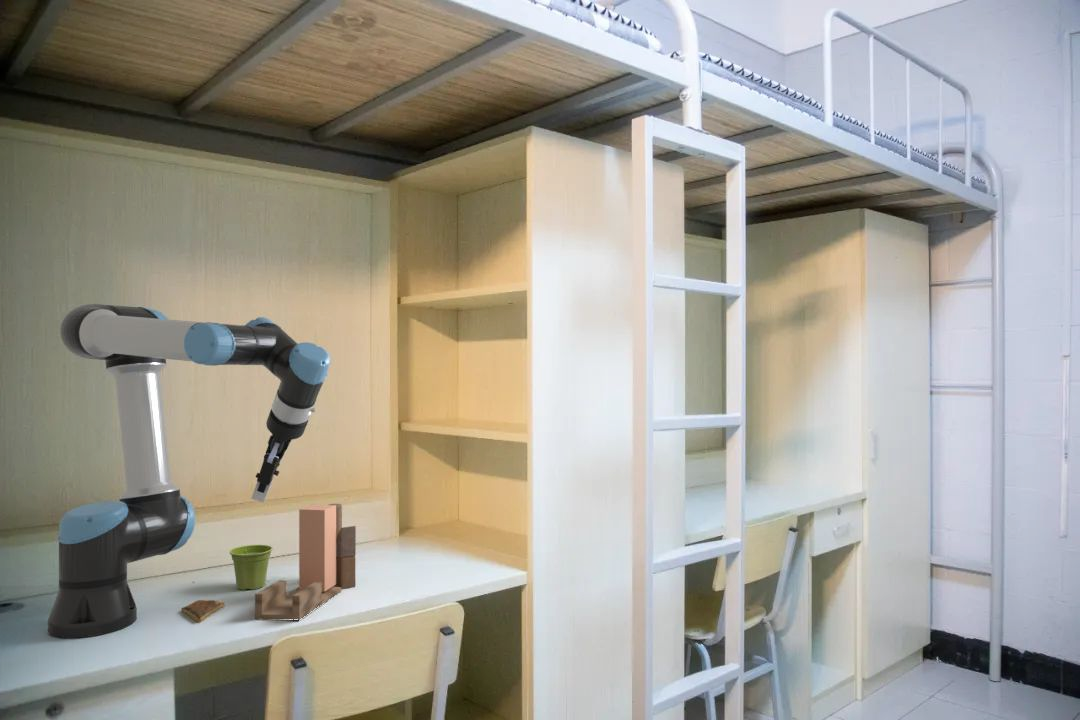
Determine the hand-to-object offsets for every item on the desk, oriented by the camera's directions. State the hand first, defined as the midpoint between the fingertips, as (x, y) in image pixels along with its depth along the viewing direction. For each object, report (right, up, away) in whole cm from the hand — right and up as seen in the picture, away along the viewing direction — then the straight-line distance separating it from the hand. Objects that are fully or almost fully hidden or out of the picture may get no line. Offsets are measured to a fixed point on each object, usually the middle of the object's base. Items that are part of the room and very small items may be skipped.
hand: (258, 498), depth 159 cm
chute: (+9, -23, +1) cm, 25 cm away
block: (+10, -22, +9) cm, 26 cm away
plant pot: (-7, -23, +15) cm, 28 cm away
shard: (-9, -24, -4) cm, 26 cm away
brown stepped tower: (+13, -23, +17) cm, 32 cm away
